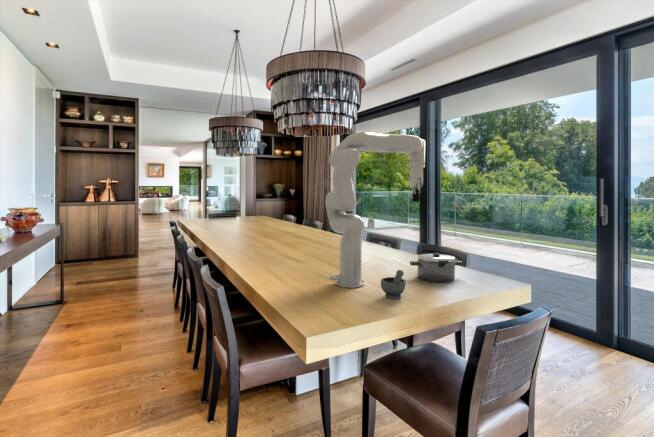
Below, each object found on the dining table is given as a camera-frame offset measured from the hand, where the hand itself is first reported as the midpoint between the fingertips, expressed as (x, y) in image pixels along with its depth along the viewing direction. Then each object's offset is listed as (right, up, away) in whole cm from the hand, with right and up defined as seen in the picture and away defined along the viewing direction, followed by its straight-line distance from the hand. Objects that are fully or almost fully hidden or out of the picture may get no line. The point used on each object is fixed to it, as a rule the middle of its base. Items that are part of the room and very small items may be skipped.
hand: (415, 201), depth 178 cm
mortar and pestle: (-18, -40, -37) cm, 57 cm away
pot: (+8, -37, -7) cm, 38 cm away
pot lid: (+8, -28, -9) cm, 30 cm away
